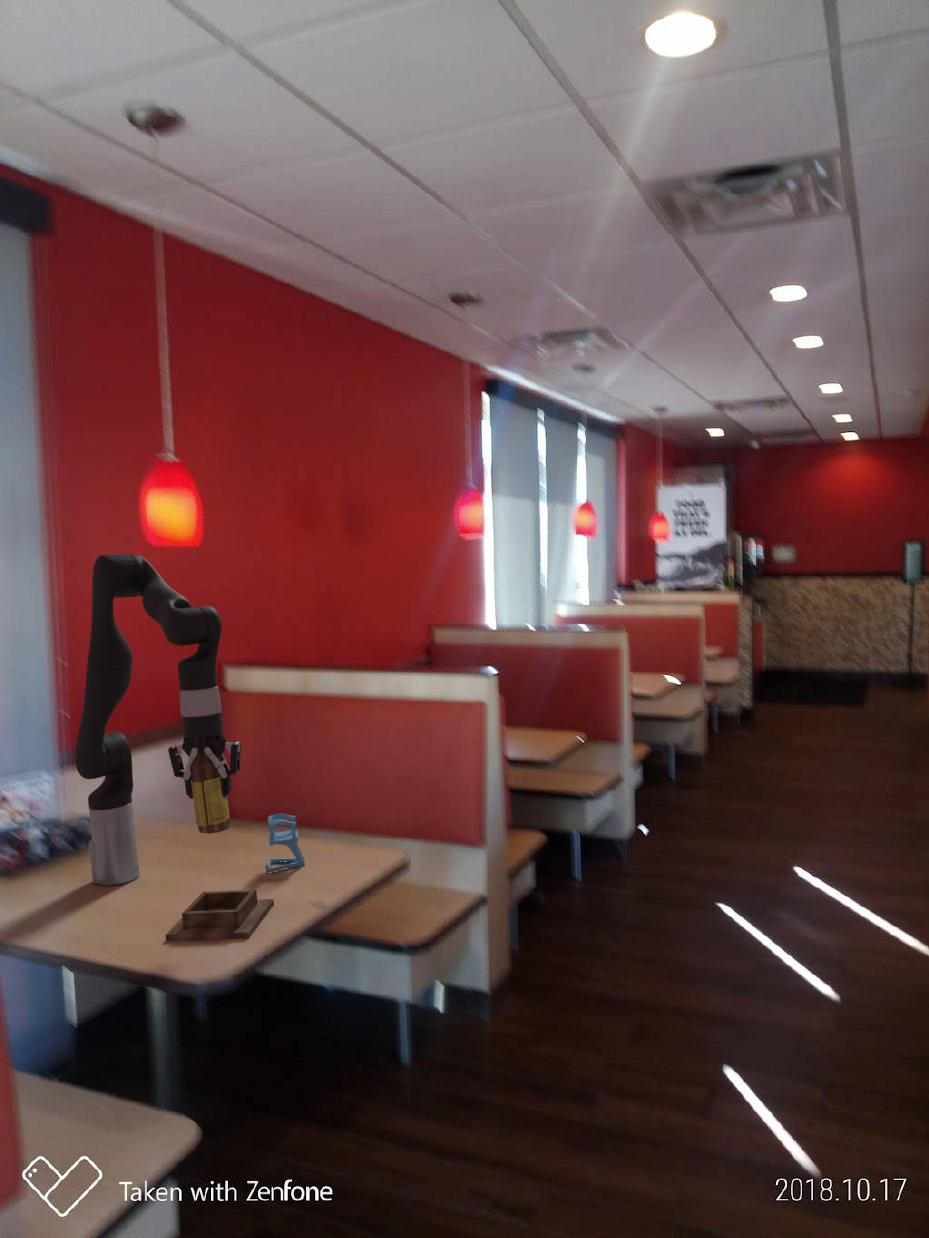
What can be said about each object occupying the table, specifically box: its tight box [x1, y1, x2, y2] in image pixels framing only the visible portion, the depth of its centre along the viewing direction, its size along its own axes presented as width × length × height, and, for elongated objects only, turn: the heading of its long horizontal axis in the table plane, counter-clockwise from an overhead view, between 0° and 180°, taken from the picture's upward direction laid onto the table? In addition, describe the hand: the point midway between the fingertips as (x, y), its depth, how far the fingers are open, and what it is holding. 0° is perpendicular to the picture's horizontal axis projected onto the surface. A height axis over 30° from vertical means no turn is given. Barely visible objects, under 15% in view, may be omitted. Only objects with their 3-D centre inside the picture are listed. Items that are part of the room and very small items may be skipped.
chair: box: [267, 813, 306, 873], centre depth 213 cm, size 8×8×12 cm
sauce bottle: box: [190, 738, 231, 835], centre depth 180 cm, size 6×6×20 cm
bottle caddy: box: [164, 889, 275, 942], centre depth 183 cm, size 16×16×4 cm
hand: (209, 796), depth 181 cm, fingers closed on sauce bottle, 6 cm apart
